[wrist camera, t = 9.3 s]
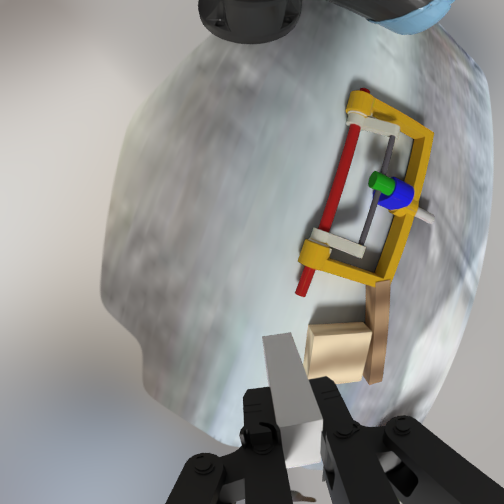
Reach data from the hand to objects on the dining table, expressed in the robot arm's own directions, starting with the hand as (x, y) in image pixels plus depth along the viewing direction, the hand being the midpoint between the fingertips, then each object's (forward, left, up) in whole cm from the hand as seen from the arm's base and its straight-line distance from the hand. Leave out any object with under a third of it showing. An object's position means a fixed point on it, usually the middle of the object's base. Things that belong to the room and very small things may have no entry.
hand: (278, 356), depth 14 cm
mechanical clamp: (-5, +18, -25) cm, 31 cm away
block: (+16, +10, -25) cm, 31 cm away
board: (+14, +17, -24) cm, 33 cm away
